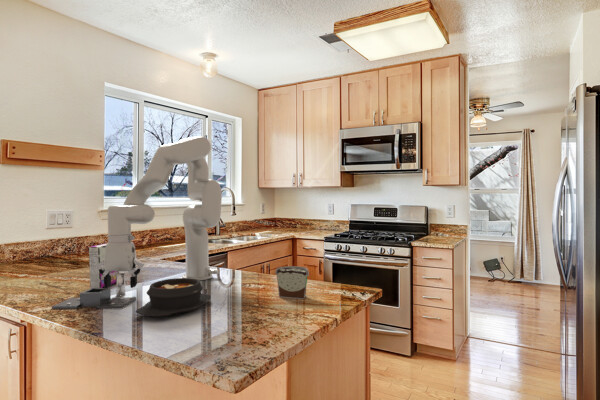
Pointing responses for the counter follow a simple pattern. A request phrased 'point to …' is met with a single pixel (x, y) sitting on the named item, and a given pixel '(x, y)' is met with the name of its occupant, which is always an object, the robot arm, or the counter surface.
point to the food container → (292, 281)
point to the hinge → (95, 300)
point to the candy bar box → (95, 276)
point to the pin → (120, 283)
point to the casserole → (173, 297)
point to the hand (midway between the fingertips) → (120, 286)
